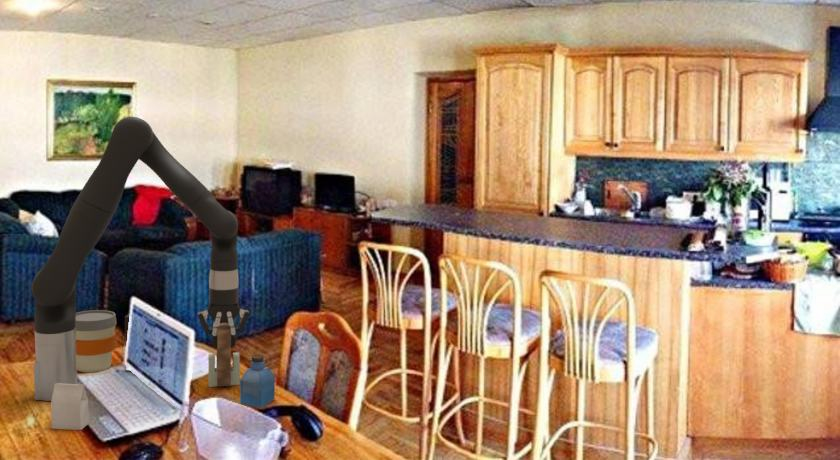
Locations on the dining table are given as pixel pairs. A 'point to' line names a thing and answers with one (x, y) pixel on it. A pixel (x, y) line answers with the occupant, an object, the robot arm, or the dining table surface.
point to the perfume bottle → (257, 383)
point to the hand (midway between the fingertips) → (223, 347)
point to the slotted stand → (234, 370)
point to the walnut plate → (223, 354)
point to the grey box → (69, 407)
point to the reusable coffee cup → (94, 339)
